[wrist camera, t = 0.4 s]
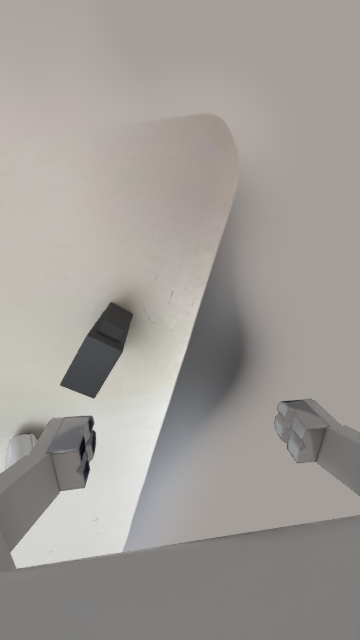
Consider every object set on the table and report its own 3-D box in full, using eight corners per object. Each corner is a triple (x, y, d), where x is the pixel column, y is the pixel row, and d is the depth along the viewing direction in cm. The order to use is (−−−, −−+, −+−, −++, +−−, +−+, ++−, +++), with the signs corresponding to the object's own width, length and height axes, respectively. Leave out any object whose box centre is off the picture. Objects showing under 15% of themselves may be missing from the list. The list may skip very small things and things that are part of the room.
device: (111, 301, 30) (87, 333, 19) (133, 313, 31) (123, 350, 20) (92, 335, 32) (59, 385, 20) (113, 346, 32) (94, 398, 21)
